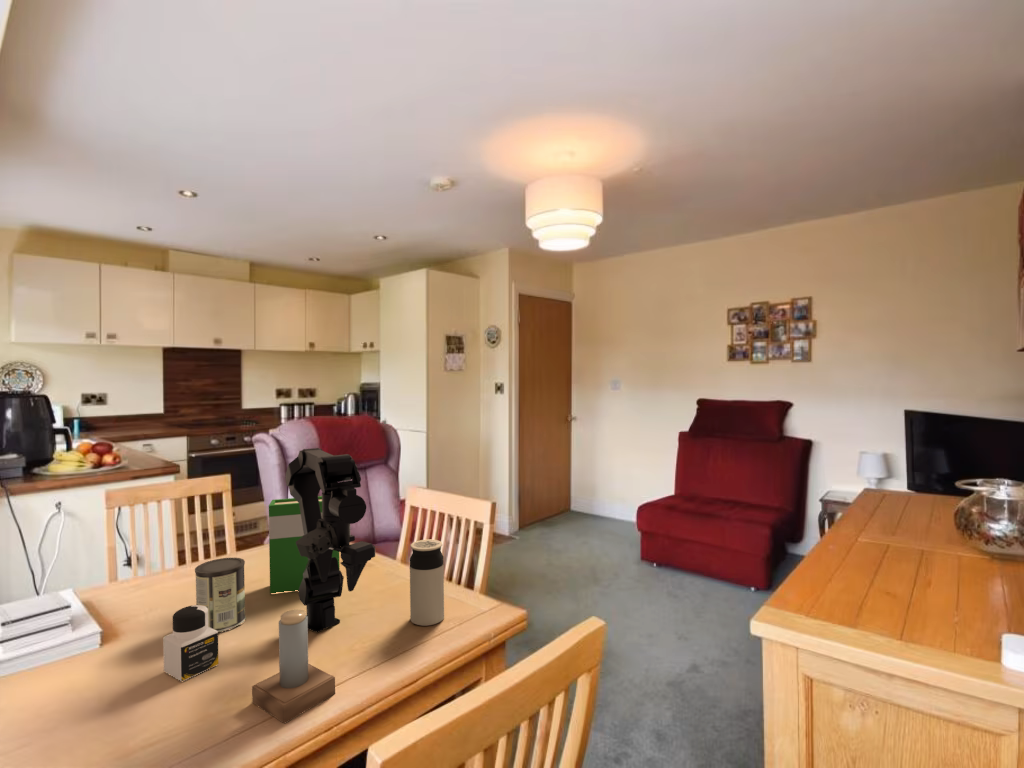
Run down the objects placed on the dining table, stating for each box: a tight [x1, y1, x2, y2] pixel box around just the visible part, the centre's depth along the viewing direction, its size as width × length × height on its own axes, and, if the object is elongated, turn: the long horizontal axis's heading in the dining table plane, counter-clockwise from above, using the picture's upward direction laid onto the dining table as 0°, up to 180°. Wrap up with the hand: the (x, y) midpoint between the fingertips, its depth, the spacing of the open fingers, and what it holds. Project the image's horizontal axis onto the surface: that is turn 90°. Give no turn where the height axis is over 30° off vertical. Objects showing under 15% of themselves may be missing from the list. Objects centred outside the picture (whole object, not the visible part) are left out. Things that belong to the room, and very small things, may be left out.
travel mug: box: [409, 538, 445, 627], centre depth 125 cm, size 8×8×18 cm
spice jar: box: [278, 608, 309, 688], centre depth 94 cm, size 5×5×12 cm
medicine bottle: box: [162, 604, 220, 682], centre depth 104 cm, size 7×7×12 cm
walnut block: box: [251, 663, 336, 724], centre depth 94 cm, size 10×10×3 cm
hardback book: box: [268, 495, 341, 594], centre depth 146 cm, size 18×7×24 cm, turn 108°
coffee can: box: [194, 557, 247, 633], centre depth 123 cm, size 10×10×14 cm
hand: (337, 586), depth 112 cm, fingers open, 9 cm apart
